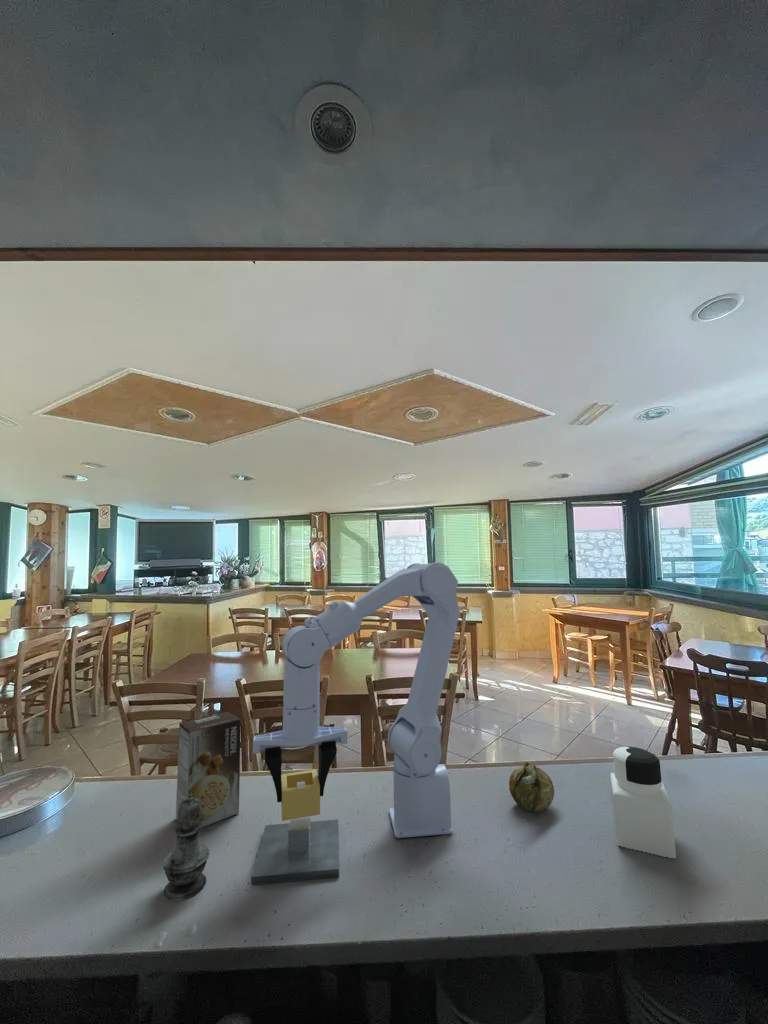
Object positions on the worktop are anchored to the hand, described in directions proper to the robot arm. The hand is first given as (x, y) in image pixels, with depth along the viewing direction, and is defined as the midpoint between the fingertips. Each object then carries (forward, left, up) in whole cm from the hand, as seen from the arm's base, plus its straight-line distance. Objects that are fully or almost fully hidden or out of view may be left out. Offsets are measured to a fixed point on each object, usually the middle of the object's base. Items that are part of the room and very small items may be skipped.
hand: (300, 795), depth 66 cm
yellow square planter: (0, 0, -2) cm, 2 cm away
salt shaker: (+15, +5, -8) cm, 18 cm away
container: (-54, +4, -8) cm, 55 cm away
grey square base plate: (0, 0, -8) cm, 8 cm away
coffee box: (+17, -12, -8) cm, 22 cm away
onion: (-41, -7, -8) cm, 42 cm away
